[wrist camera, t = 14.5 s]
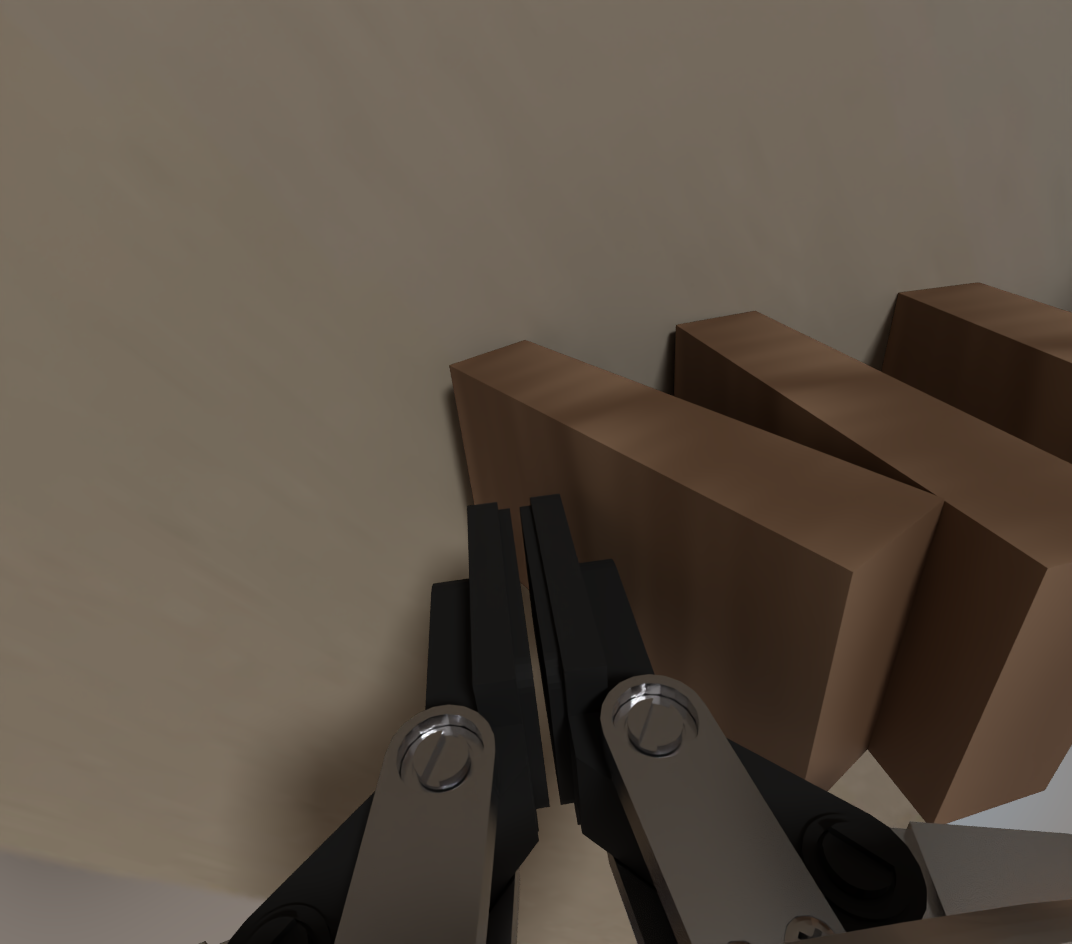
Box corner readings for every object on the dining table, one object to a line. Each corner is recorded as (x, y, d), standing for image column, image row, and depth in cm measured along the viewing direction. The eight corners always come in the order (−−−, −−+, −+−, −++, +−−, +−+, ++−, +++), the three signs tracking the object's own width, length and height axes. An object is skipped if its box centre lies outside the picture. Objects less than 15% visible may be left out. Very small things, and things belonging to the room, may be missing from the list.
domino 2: (671, 503, 16) (930, 828, 9) (675, 325, 14) (1047, 567, 6) (738, 488, 17) (1044, 790, 9) (755, 310, 14) (1201, 526, 7)
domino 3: (859, 471, 17) (1194, 768, 9) (898, 292, 14) (1409, 499, 7) (927, 461, 17) (1315, 747, 9) (978, 282, 14) (1571, 474, 7)
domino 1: (482, 548, 16) (794, 826, 9) (448, 365, 13) (852, 572, 6) (544, 516, 16) (868, 748, 10) (525, 339, 14) (945, 498, 7)
